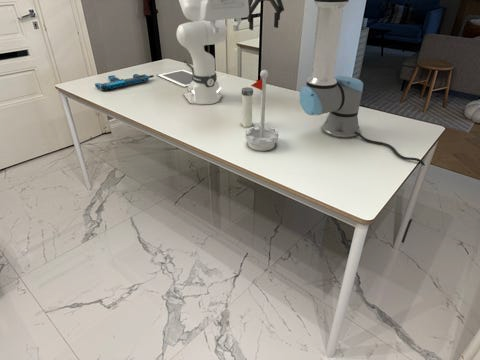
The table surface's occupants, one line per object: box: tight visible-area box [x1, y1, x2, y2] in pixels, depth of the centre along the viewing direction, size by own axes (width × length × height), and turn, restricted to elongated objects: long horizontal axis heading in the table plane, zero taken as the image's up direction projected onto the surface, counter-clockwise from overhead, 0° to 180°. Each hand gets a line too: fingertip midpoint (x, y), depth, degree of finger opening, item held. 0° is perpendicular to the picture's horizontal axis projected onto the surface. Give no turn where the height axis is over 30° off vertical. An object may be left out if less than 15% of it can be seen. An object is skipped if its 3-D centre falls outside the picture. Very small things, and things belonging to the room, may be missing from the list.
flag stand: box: [245, 69, 279, 152], centre depth 130 cm, size 13×13×30 cm
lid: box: [241, 86, 254, 96], centre depth 147 cm, size 5×5×2 cm
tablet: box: [156, 69, 193, 88], centre depth 216 cm, size 32×20×1 cm, turn 41°
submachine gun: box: [94, 73, 155, 91], centre depth 208 cm, size 34×4×25 cm
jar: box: [241, 94, 253, 128], centre depth 151 cm, size 4×4×16 cm
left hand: (226, 31), depth 135 cm, fingers open, 8 cm apart
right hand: (263, 28), depth 163 cm, fingers open, 13 cm apart
